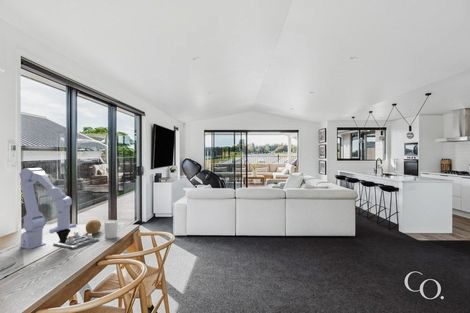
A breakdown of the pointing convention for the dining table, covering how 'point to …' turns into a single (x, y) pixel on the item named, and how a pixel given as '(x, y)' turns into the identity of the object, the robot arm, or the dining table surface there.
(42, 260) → the dining table surface
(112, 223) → the white cup
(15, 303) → the dining table surface
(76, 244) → the panel
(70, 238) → the breaker
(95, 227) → the potato
